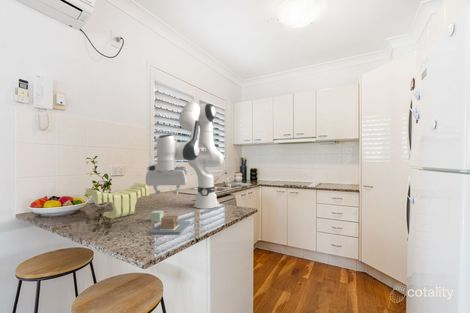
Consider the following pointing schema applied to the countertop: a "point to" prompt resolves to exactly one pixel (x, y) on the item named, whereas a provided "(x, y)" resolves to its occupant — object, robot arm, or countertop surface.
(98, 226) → the countertop surface
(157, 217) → the sage block
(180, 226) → the slate board
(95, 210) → the countertop surface
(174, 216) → the walnut block
